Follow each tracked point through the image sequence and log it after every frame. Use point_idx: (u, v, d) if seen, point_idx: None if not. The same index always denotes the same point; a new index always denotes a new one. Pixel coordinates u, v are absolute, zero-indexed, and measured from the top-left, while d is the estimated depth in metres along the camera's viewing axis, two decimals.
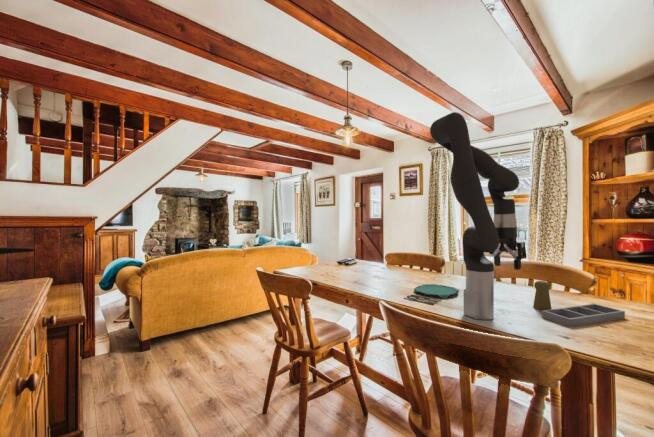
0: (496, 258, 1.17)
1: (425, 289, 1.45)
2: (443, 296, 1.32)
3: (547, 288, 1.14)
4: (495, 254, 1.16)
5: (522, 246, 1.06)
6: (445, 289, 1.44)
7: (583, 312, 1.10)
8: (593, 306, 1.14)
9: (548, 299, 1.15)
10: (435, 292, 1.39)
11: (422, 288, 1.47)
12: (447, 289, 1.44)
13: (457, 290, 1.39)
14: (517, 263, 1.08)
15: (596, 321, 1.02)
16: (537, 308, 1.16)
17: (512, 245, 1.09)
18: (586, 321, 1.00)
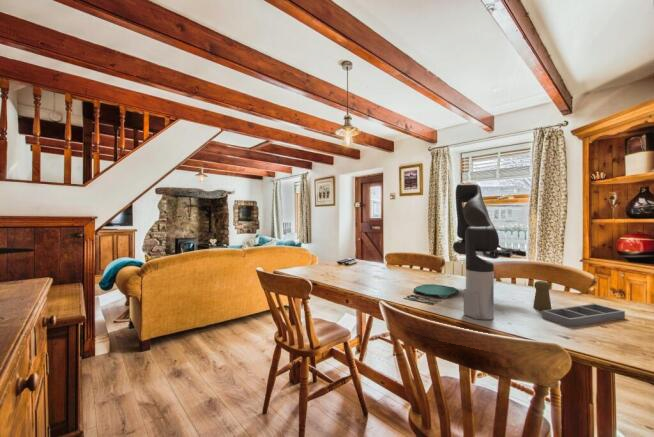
0: None
1: (425, 289, 1.45)
2: (443, 296, 1.32)
3: (547, 288, 1.14)
4: (501, 250, 1.31)
5: None
6: (445, 289, 1.44)
7: (583, 312, 1.10)
8: (593, 306, 1.14)
9: (548, 299, 1.15)
10: (435, 292, 1.39)
11: (422, 288, 1.47)
12: (447, 289, 1.44)
13: (457, 290, 1.39)
14: None
15: (596, 321, 1.02)
16: (537, 308, 1.16)
17: None
18: (586, 321, 1.00)
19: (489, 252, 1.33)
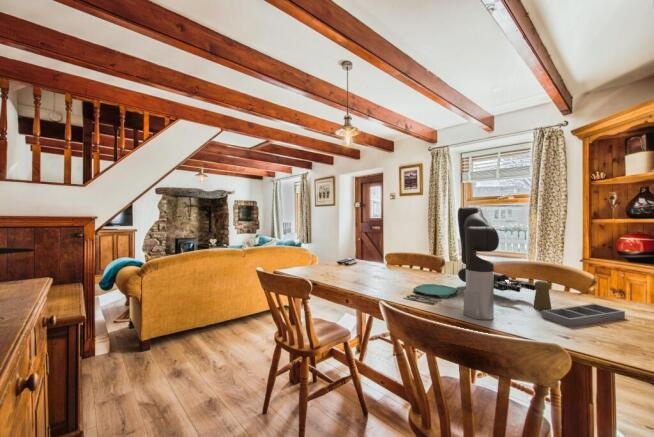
0: None
1: (424, 289, 1.45)
2: (443, 296, 1.32)
3: (547, 288, 1.14)
4: (510, 284, 1.26)
5: None
6: (444, 289, 1.44)
7: (583, 312, 1.10)
8: (593, 306, 1.14)
9: (548, 299, 1.15)
10: (434, 292, 1.40)
11: (421, 288, 1.47)
12: (446, 289, 1.44)
13: (456, 290, 1.39)
14: None
15: (596, 321, 1.02)
16: (537, 308, 1.16)
17: None
18: (586, 321, 1.00)
19: (497, 285, 1.29)
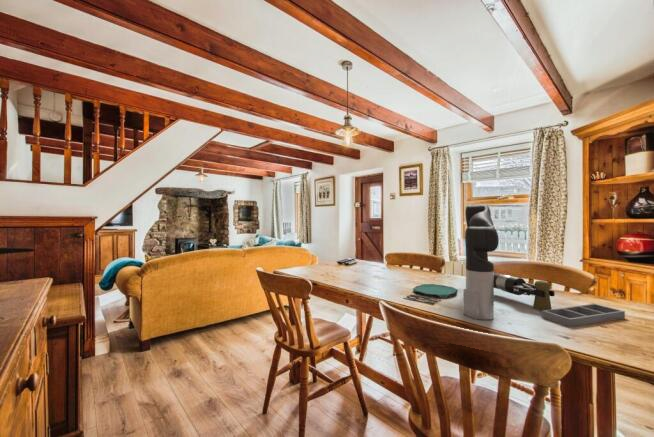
0: None
1: (424, 289, 1.46)
2: (443, 296, 1.32)
3: (547, 288, 1.14)
4: (533, 288, 1.18)
5: None
6: (444, 289, 1.45)
7: (583, 312, 1.10)
8: (593, 306, 1.14)
9: (548, 299, 1.15)
10: (434, 292, 1.40)
11: (421, 288, 1.47)
12: (446, 289, 1.44)
13: (456, 290, 1.40)
14: None
15: (596, 321, 1.02)
16: (537, 308, 1.16)
17: (533, 285, 1.24)
18: (586, 321, 1.00)
19: (518, 290, 1.20)
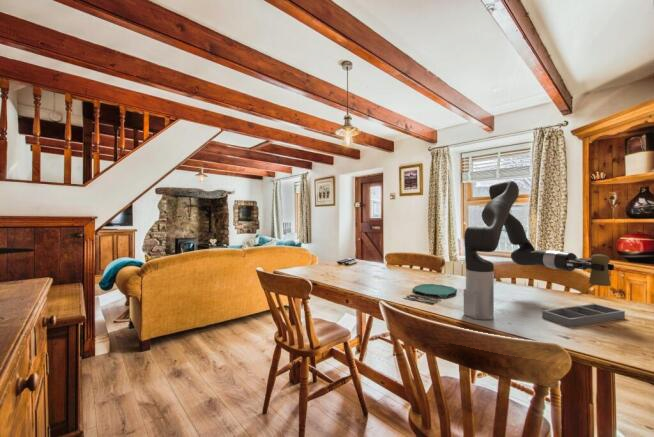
0: None
1: (423, 289, 1.46)
2: (442, 296, 1.32)
3: (606, 261, 1.06)
4: (590, 262, 1.10)
5: None
6: (443, 289, 1.45)
7: (583, 312, 1.10)
8: (593, 306, 1.14)
9: (607, 273, 1.07)
10: (434, 292, 1.40)
11: (420, 288, 1.47)
12: (445, 289, 1.45)
13: (455, 289, 1.40)
14: None
15: (596, 321, 1.02)
16: (595, 283, 1.08)
17: (587, 260, 1.16)
18: (586, 321, 1.00)
19: (573, 264, 1.12)
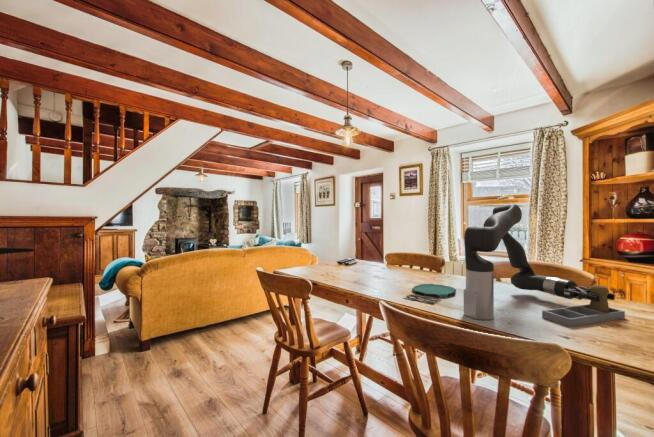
0: None
1: (423, 289, 1.46)
2: (442, 295, 1.33)
3: (606, 293, 1.07)
4: (585, 292, 1.10)
5: None
6: (442, 288, 1.45)
7: (583, 312, 1.10)
8: None
9: (607, 305, 1.07)
10: (433, 291, 1.40)
11: (420, 288, 1.48)
12: (444, 288, 1.45)
13: (454, 289, 1.41)
14: None
15: (596, 321, 1.02)
16: None
17: None
18: (586, 321, 1.00)
19: (569, 293, 1.13)
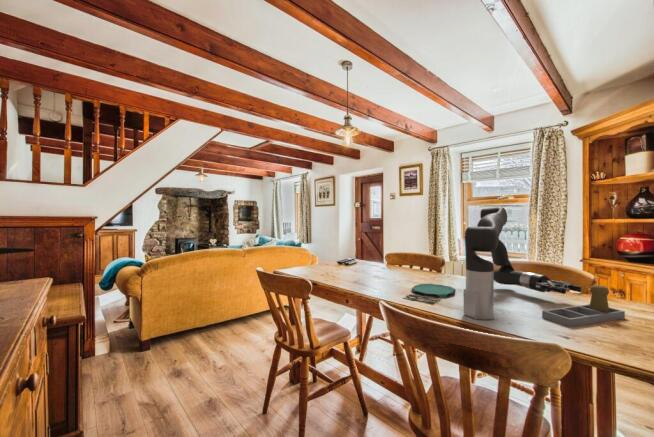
0: None
1: (422, 289, 1.46)
2: (442, 295, 1.33)
3: (606, 293, 1.07)
4: (553, 285, 1.21)
5: None
6: (442, 288, 1.46)
7: (583, 312, 1.10)
8: None
9: (606, 305, 1.07)
10: (433, 291, 1.40)
11: (419, 288, 1.48)
12: (444, 288, 1.46)
13: (454, 289, 1.41)
14: None
15: (596, 321, 1.02)
16: None
17: None
18: (586, 321, 1.00)
19: (539, 286, 1.24)
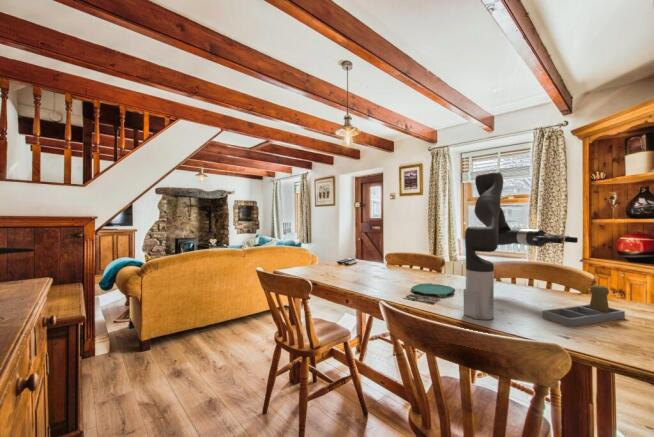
0: None
1: (422, 288, 1.46)
2: (441, 295, 1.33)
3: (606, 293, 1.07)
4: (550, 237, 1.22)
5: None
6: (441, 288, 1.46)
7: (583, 312, 1.10)
8: None
9: (606, 305, 1.07)
10: (432, 291, 1.41)
11: (419, 287, 1.48)
12: (443, 288, 1.46)
13: (453, 289, 1.41)
14: None
15: (596, 321, 1.02)
16: None
17: None
18: (586, 321, 1.00)
19: (536, 239, 1.25)
